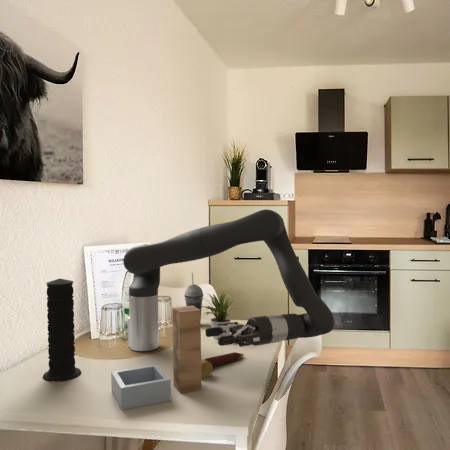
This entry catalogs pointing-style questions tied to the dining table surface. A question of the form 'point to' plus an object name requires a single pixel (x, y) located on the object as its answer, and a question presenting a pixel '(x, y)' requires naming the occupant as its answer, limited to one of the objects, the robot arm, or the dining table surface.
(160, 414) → the dining table surface
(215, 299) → the house plant
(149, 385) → the box
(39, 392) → the dining table surface
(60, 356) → the handle grip
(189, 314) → the walnut handle block
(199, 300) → the beverage cup
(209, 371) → the gavel
